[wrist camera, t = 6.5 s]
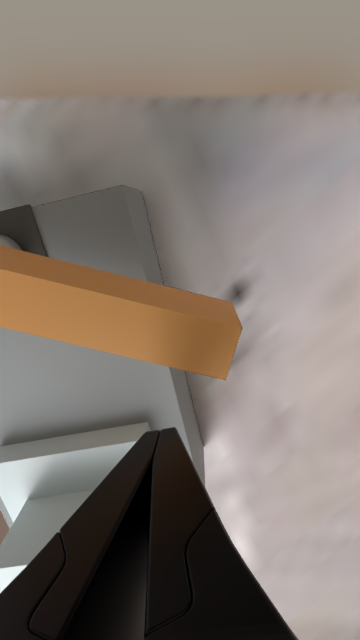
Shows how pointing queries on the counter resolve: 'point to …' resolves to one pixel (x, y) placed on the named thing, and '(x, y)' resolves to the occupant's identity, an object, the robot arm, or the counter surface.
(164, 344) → the orange square pillar
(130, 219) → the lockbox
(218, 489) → the counter surface
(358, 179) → the counter surface
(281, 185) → the counter surface
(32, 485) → the cover
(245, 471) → the counter surface
